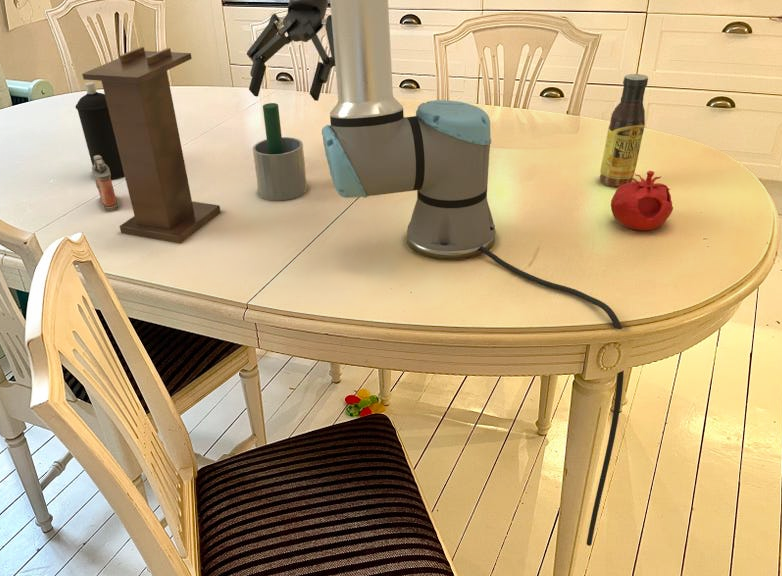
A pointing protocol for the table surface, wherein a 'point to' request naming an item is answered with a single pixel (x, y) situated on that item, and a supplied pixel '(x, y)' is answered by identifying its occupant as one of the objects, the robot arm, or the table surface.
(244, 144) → the table surface
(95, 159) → the lighter
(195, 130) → the table surface
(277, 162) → the steel cup
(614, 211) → the red hollow tomato
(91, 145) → the aerosol can
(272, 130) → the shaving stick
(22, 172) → the table surface
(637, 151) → the sauce bottle
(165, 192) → the stand
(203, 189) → the table surface
